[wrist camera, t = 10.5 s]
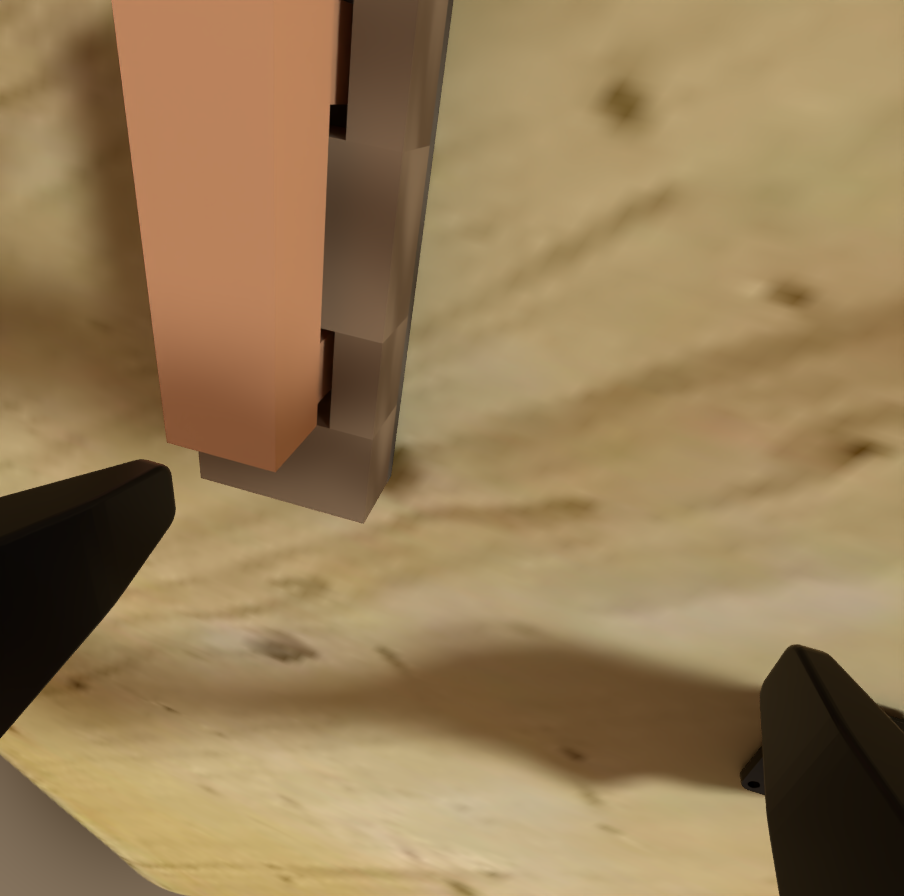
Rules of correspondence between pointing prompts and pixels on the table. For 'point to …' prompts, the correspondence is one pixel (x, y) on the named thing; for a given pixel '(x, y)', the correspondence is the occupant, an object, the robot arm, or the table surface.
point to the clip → (235, 210)
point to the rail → (366, 259)
